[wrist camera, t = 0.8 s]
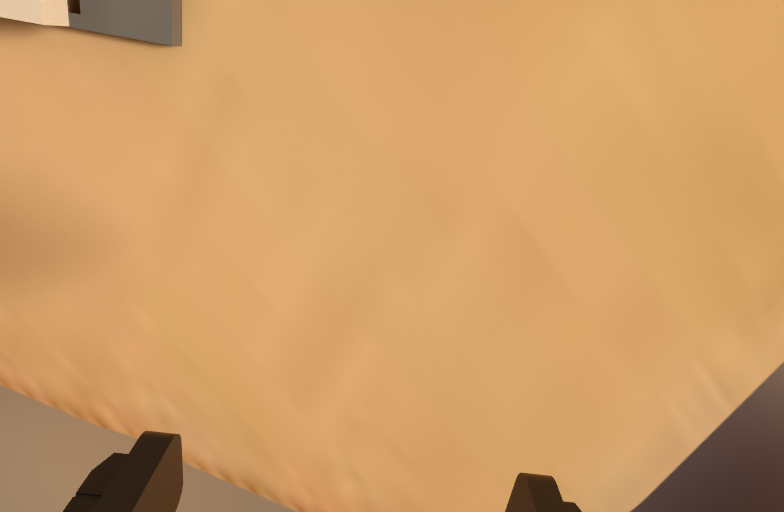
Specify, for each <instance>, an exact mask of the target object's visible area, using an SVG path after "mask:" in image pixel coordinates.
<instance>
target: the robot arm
mask: <svg viewBox="0 0 784 512" xmlns="http://www.w3.org/2000/svg"><path fill="white" fill-rule="evenodd" d="M182 486H183V469H182V445H181V436H180V435H179V434H171V433H162V432H153V431H145V432H144V433H142V435H141V436H140V437H139V439H138V440H137V442H136V443H135V445H134V446H133V448H132V450H131V451H130V453H129V454H122V453H113V454H112V455H111V456H110V457H108V458H107V459H106V460H105V461H103V462H102V463H101V464H100V465H98V466H97V467H96V468H94V469H93V470H92V471H91V472H90V474H89V475H88V477H87V478H86V479H85V481H84V482H83V484H82V485H81V487H80V488H79V489H78V491H77V492H76V496H75V497H73V498H72V499H71V501H70V502H69V504H68V505H67V506H66V508H65V509H64V511H63V512H175V511H176V509H177V506H178V503H179V500H180V497H181V493H182ZM505 512H582V511H581V510H580V509H579V508H578V506H577V505H576V504H575V503H573V502H563V500H562V497H561V495H560V492H559V489H558V486H557V484H556V481H555V480H554V478H553V477H552V476H547V475H538V474H528V473H519V474H518V476H517V478H516V481H515V484H514V487H513V490H512V493H511V496H510V499H509V502H508V505H507V508H506V511H505Z"/></svg>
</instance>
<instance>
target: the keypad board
mask: <svg viewBox="0 0 784 512" xmlns="http://www.w3.org/2000/svg"><path fill="white" fill-rule="evenodd" d="M68 17H69V26H66V27H71V28H77V29H82V30H88V31H93V32H99V33H104V34H110V35H115V36H120V37H126V38H131V39H137V40H142V41H148V42H153V43H159V44H164V45H170V46H182V0H80V13H76V12H70V11H68Z"/></svg>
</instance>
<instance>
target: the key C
mask: <svg viewBox="0 0 784 512" xmlns="http://www.w3.org/2000/svg"><path fill="white" fill-rule="evenodd" d="M0 17H3V18H8V19H14V20H19V21H25V22H30V23H36V24H41V25H55V26H69V17H68V5H67V0H0Z"/></svg>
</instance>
